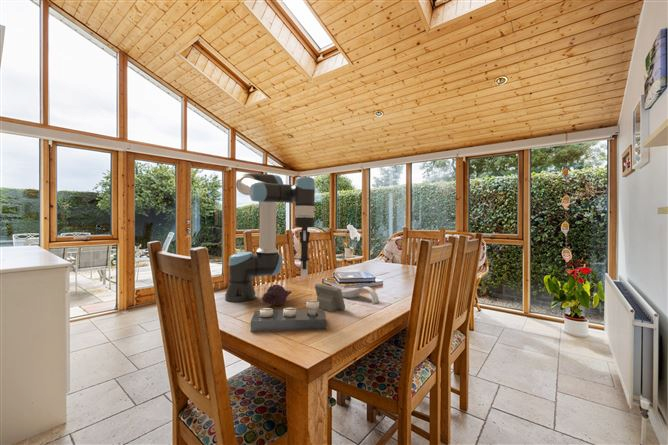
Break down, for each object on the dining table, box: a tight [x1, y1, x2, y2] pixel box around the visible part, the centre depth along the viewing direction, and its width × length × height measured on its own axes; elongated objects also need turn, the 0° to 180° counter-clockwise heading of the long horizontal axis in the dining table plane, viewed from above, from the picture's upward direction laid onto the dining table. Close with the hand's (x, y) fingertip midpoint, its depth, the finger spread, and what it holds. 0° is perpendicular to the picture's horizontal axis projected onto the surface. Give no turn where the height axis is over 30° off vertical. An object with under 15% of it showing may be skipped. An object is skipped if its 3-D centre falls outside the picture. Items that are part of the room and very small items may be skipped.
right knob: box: [305, 299, 320, 316], centre depth 121 cm, size 5×5×6 cm
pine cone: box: [261, 284, 292, 306], centre depth 146 cm, size 18×10×10 cm, turn 145°
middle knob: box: [282, 307, 297, 317], centre depth 120 cm, size 5×5×6 cm
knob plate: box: [250, 309, 328, 333], centre depth 120 cm, size 28×12×4 cm, turn 97°
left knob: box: [259, 307, 274, 317], centre depth 119 cm, size 5×5×6 cm
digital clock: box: [314, 283, 346, 312], centre depth 144 cm, size 16×9×11 cm, turn 37°
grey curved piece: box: [340, 286, 380, 305], centre depth 161 cm, size 24×12×7 cm, turn 47°
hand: (304, 277), depth 120 cm, fingers closed
